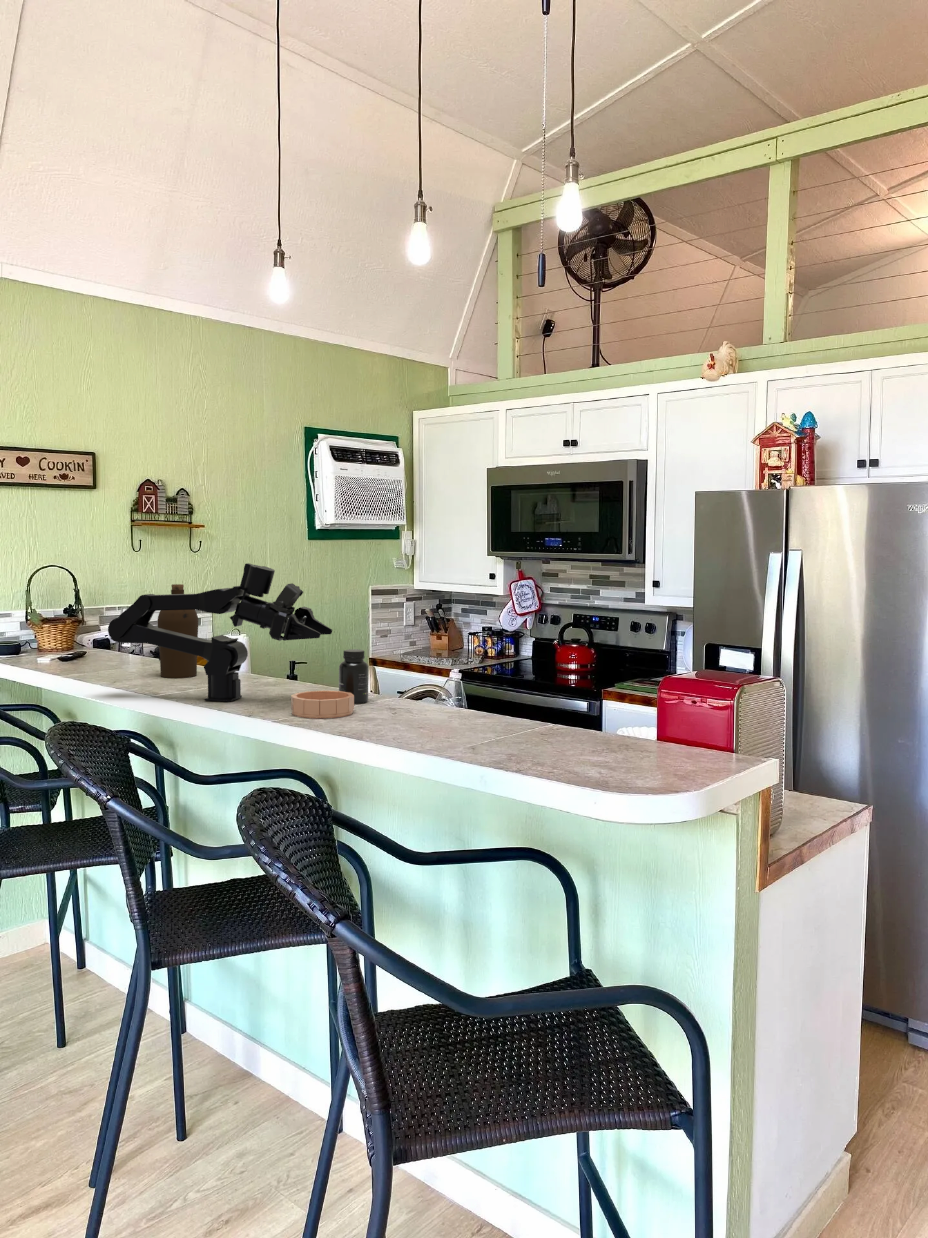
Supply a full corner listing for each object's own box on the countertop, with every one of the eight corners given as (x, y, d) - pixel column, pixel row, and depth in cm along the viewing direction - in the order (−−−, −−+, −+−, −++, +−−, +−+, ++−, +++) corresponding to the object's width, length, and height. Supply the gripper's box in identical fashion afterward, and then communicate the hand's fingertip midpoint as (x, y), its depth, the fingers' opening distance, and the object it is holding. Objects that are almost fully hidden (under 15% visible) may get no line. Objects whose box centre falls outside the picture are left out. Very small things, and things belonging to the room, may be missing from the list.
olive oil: (207, 674, 249) (205, 584, 247) (182, 679, 239) (181, 585, 237) (175, 672, 253) (173, 583, 251) (149, 677, 243) (148, 584, 241)
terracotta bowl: (282, 716, 189) (282, 698, 189) (305, 706, 202) (305, 689, 201) (341, 719, 186) (341, 701, 186) (360, 709, 199) (360, 691, 199)
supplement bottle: (332, 702, 207) (332, 650, 206) (349, 698, 213) (350, 648, 212) (357, 705, 204) (357, 652, 203) (374, 701, 210) (374, 649, 209)
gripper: (257, 581, 196) (323, 602, 194) (285, 578, 215) (346, 597, 213) (243, 629, 197) (309, 651, 196) (273, 622, 216) (333, 642, 214)
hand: (326, 633), depth 205 cm, fingers open, 9 cm apart
